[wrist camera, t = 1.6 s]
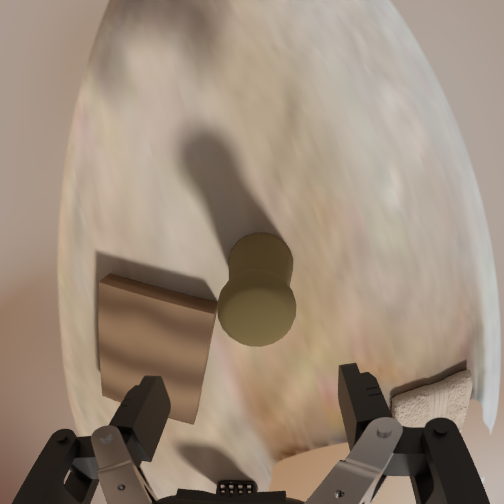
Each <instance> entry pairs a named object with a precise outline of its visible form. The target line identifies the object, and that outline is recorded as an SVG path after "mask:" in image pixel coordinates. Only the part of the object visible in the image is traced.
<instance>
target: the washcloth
mask: <svg viewBox="0 0 504 504" xmlns="http://www.w3.org/2000/svg"><path fill="white" fill-rule="evenodd" d="M471 391H472V375H471V372H470V370H465V371H460V372H458V373H456V374H453V375H451V376H448V377H446V378H445V379H444V380H441V381H439V382H436V383H433V384H430V385H427V386H426V385H424V386H422V387H419V388H416V389H414V390H411V391H407V392H405V393H401V394H399V395H396V396H394V398H392V409H391V410H392V418H393V419H395V420H397V421H398V422H400V424H401V425H402V426H405V427H425V425H426V423H427V422H428V421H430V420H432V419H434V418H439V417H443V418H448V419H450V420H452V421H453V422H454V423H455V424H456V425H457V427H458V429H459V432H460V433H461V432H462V431H463V424H464V420H465V417H466V414H467V410H468V403H469V399H470V395H471Z"/></svg>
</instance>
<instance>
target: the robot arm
mask: <svg viewBox="0 0 504 504" xmlns="http://www.w3.org/2000/svg"><path fill="white" fill-rule="evenodd" d="M338 399H339V405H340V409H341V413H342V417H343V422H344V426H345V430H346V435H347V439H348V444H349V448H350V453H349V455H348V456H347V457H346V459H345V460H344V461H343V460H340V461H339V462H338V463H337V464H336V465H335V466H334V467H333V469H332V470H331V471H330V473H329V474H328V475H327V476H326V478H325V479H324V480H323V481H322V483H321V484H320V485H319V486H318V488H317V489H316V490H315V491H314V492H313V494H312V495H311V496H310V497H309V498H308V499H307V501H306V502H303V501H300V500H297V499H292V498H287V497H286V491H274V492H256V493H251V494H246V495H241V496H236V497H224V496H220V495H217V494H213V493H209V492H205V491H199V490H187V489H178V490H177V494H176V495H174V496H168V497H165V498H162V499H159V500H158V498H157V497H156V495H155V493H154V492H153V490H152V488H151V486H150V484H149V482H148V480H147V478H146V476H145V474H144V472H143V470H142V468H141V467H140V464H141V462H142V461H147V462H151V461H152V458H153V456H154V453H155V450H156V448H157V445H158V443H159V440H160V437H161V435H162V432H163V429H164V427H165V424H166V422H167V419H168V416H169V414H170V411H171V402H170V398H169V395H168V393H167V390H166V387H165V384H164V382H163V379H162V377H161V376H150V375H145V376H144V377H143V379H142V380H141V382H140V384H139V385H135V386H134V387H133V388H131V389H130V390H129V391H128V392H127V394H126V396H125V397H124V400H123V401H122V403H121V404H120V405H121V406H119V408H118V409H117V411H116V413H115V415H114V416H113V418H112V420H111V422H110V424H109V425H108V426H102V427H100V428H98V429H97V430H95V431H94V432H93V434H92V436H85V437H77V436H76V435H75V433H74V432H73V431H72V430H70V429H61V430H58V431H56V432H55V433H54V434H52V436H51V437H50V439H49V440H48V442H47V444H46V445H45V447H44V449H43V450H42V452H41V454H40V455H39V457H38V459H37V460H36V462H35V464H34V465H33V467H32V469H31V470H30V472H29V474H28V476H27V477H26V479H25V481H24V483H23V485H22V486H21V488H20V490H19V492H18V493H17V495H16V497H15V499H14V501H13V503H12V504H90V503H91V500H92V498H93V495H94V493H95V490H96V488H97V485H98V482H99V481H100V484H101V487H102V490H103V493H104V496H105V499H106V501H107V504H371V503H372V502H373V500H374V499H375V497H376V496H377V494H378V492H379V491H380V489H381V487H382V486H383V484H384V482H385V481H386V479H387V477H388V476H410V479H411V483H412V487H413V491H414V495H415V499H416V504H490V502H489V500H488V497H487V494H486V492H485V489H484V487H483V484H482V482H481V479H480V477H479V474H478V472H477V469H476V467H475V465H474V462H473V460H472V458H471V456H470V453H469V451H468V449H467V447H466V444H465V442H464V440H463V438H462V436H461V434H460V432H459V429H458V427H457V425H456V424H455V423H454V422H453V421H452V420H450V419H448V418H443V417H439V418H434V419H432V420H430V421H428V422H427V423H426V425H425V427H405V426H402V425H401V424H400V422H398V421H397V420H395V419H393V418H392V415H391V413H390V411H389V408H388V406H387V403H386V401H385V398H384V396H383V394H382V391H381V389H380V388H379V384H378V382H377V379H376V378H375V377H374V376H373V375H372V374H370V373H369V372H365V373H360V372H359V369H358V367H357V364H356V363H351V364H344V365H339V376H338ZM68 470H70V471H71V472H70V474H69V476H68V478H67V480H66V482H65V484H64V478H65V476H66V474H67V472H68Z"/></svg>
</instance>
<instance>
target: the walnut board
mask: <svg viewBox="0 0 504 504" xmlns="http://www.w3.org/2000/svg"><path fill="white" fill-rule="evenodd" d="M217 303H218V302H213V301H209V300H205V299H201V298H197V297H193V296H189V295H185V294H182V293H178V292H174V291H170V290H166V289H163V288H159V287H155V286H151V285H148V284H144V283H141V282H137V281H133V280H130V279H126V278H123V277H119V276H116V275H113V274H109V275H107V276H106V277H105V278H103V279H102V280H101V281H99V285H98V332H99V357H100V372H101V385H102V395H103V396H105V397H108V398H110V399H113V400H116V401H118V402H121V403H122V401H123V400H124V397H125V396H126V394H127V392H128V391H129V390H130V389H131V388H133V387H134V386H135V385H139V384H140V382H141V380H142V379H143V377H144V376H145V375H150V376H161V377H162V379H163V382H164V384H165V387H166V390H167V393H168V395H169V398H170V402H171V411H170V414H169V416H168V418H171V419H174V420H178V421H181V422H185V423H189V424H193V425H194V422H195V419H196V415H197V412H198V406H199V401H200V395H201V390H202V385H203V379H204V374H205V369H206V364H207V359H208V353H209V348H210V343H211V338H212V333H213V328H214V323H215V318H216V313H217Z"/></svg>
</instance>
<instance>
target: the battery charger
mask: <svg viewBox="0 0 504 504" xmlns="http://www.w3.org/2000/svg"><path fill="white" fill-rule="evenodd" d="M256 492H258V487H257V485H256V484H255V483H254V482H250V481H220V482H218V484H217V489H216V494H217V495H220V496H224V497H236V496H241V495H246V494H251V493H256Z"/></svg>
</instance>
